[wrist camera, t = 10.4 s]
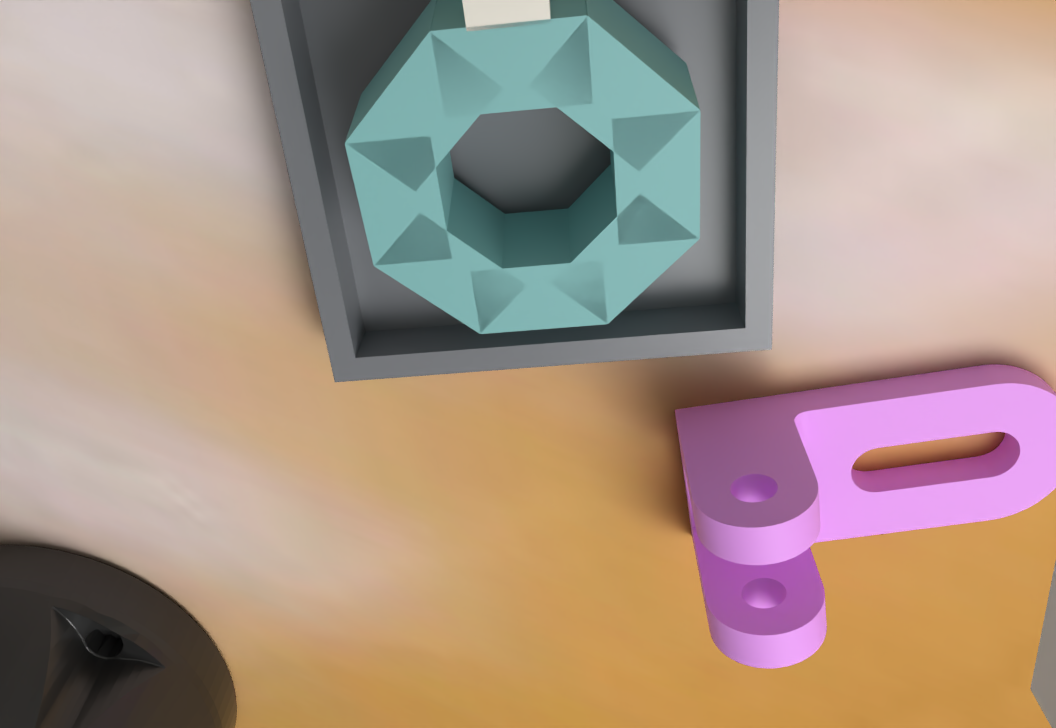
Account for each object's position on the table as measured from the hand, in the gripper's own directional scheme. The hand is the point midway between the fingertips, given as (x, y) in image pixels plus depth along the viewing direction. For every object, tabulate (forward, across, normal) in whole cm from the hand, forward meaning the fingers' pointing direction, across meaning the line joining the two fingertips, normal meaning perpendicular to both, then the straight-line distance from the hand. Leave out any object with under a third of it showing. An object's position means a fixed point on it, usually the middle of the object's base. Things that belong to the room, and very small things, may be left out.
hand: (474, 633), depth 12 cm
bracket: (+21, -11, +12) cm, 27 cm away
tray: (+21, 0, 0) cm, 21 cm away
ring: (+19, 0, -1) cm, 19 cm away
